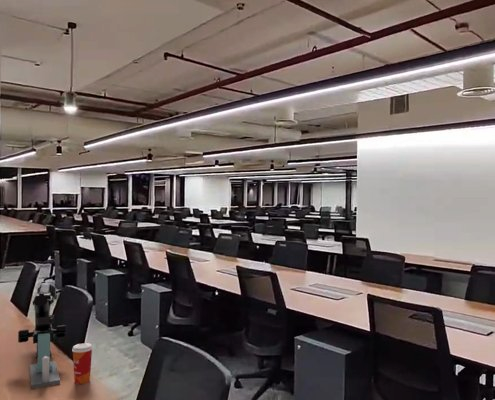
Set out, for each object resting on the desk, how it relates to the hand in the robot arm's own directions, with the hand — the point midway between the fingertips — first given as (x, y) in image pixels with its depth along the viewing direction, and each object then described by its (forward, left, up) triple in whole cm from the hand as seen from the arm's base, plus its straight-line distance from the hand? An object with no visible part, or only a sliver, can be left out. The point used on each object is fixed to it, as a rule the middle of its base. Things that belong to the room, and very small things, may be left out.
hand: (43, 351), depth 184 cm
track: (+5, 0, -8) cm, 10 cm away
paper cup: (+18, +13, -8) cm, 24 cm away
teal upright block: (+5, 0, -6) cm, 8 cm away
